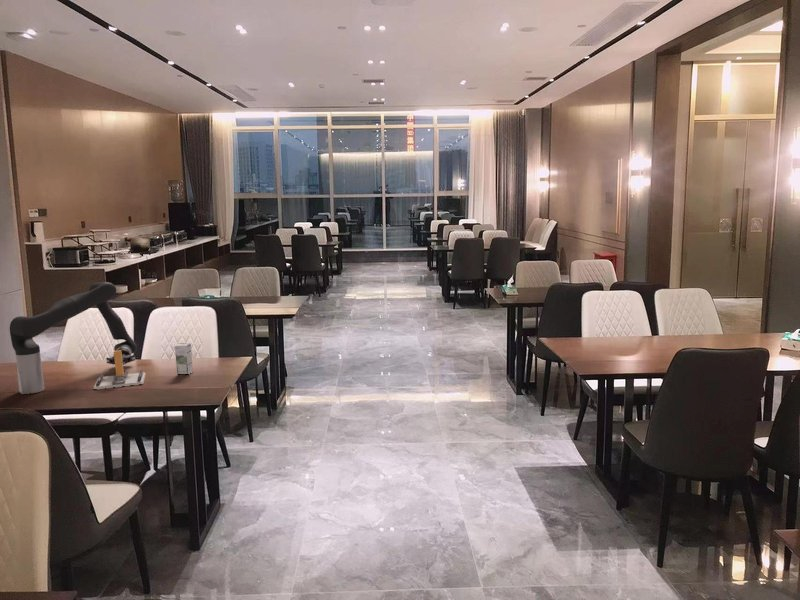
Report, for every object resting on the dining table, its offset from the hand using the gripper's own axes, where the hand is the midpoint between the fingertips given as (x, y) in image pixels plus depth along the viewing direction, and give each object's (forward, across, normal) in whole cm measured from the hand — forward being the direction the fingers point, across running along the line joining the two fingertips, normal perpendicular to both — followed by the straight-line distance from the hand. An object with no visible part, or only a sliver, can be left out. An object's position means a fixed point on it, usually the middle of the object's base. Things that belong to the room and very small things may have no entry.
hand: (119, 363), depth 289 cm
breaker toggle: (+1, 0, +6) cm, 6 cm away
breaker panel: (+1, 0, +8) cm, 9 cm away
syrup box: (-2, +28, +9) cm, 29 cm away
